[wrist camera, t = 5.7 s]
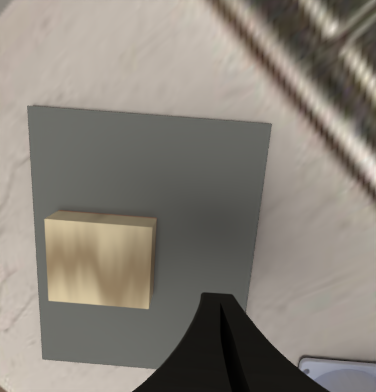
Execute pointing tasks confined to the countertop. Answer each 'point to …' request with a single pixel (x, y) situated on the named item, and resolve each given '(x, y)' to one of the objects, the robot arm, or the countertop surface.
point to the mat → (148, 207)
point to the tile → (100, 258)
